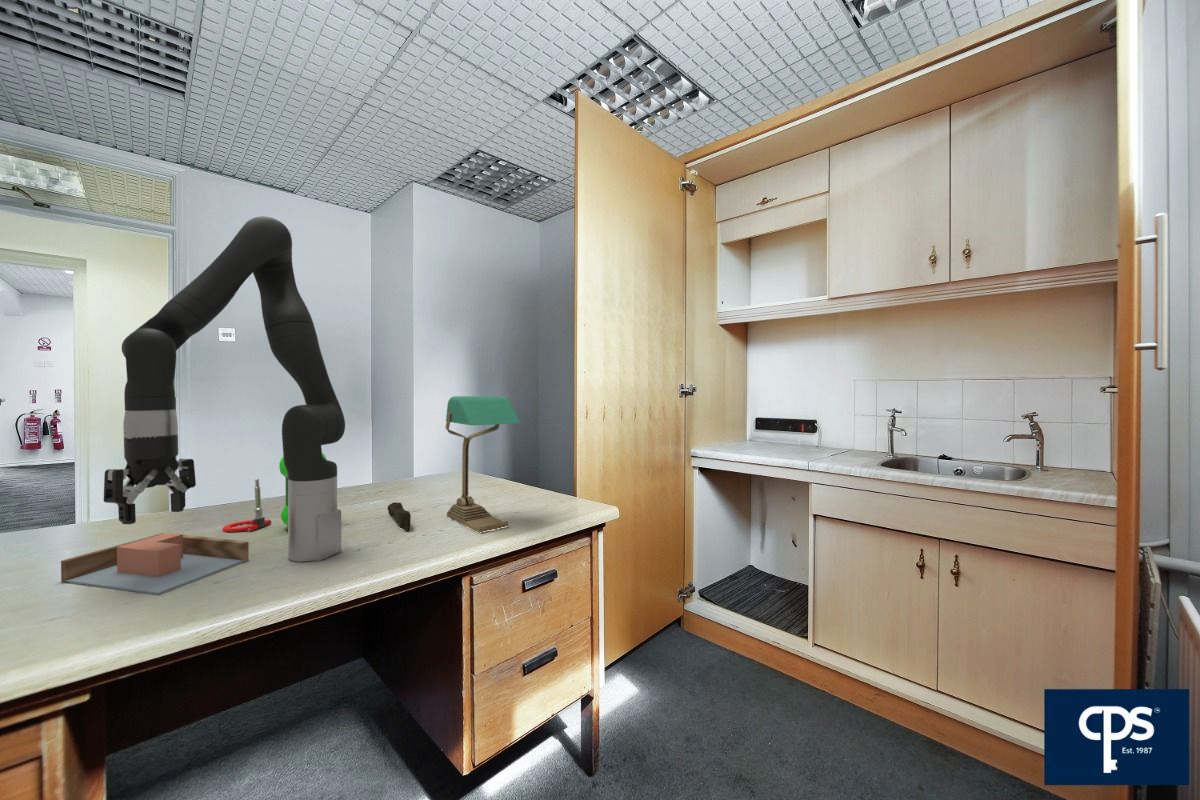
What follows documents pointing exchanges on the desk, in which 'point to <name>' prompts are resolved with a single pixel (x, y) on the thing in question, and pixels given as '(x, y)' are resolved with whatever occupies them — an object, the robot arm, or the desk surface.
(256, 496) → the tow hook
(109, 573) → the rubber mat
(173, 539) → the bracket
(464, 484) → the banker's lamp
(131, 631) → the desk surface
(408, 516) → the dark brown rough bar
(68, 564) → the walnut corner walls
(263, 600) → the desk surface
